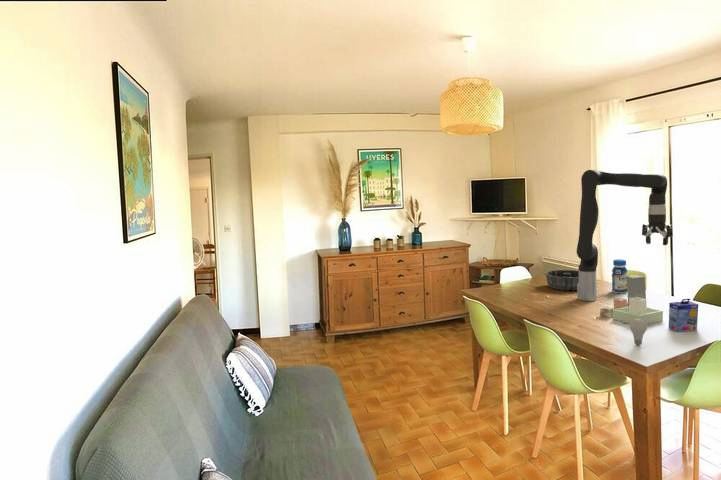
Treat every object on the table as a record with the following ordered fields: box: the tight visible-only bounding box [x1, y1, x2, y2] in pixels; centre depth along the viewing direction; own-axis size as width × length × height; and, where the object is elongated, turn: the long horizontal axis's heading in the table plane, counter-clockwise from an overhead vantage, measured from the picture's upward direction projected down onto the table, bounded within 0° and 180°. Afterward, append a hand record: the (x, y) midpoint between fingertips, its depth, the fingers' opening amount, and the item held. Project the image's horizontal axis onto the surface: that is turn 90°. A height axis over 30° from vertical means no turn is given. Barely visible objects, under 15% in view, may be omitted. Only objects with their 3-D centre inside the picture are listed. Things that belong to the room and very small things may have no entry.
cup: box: [628, 297, 647, 315], centre depth 208 cm, size 5×5×10 cm
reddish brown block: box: [613, 297, 628, 310], centre depth 222 cm, size 6×6×7 cm
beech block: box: [599, 305, 614, 319], centre depth 218 cm, size 4×4×4 cm
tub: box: [612, 306, 664, 326], centre depth 209 cm, size 13×16×5 cm
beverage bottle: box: [611, 258, 629, 294], centre depth 264 cm, size 8×8×20 cm
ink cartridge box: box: [668, 298, 699, 333], centre depth 191 cm, size 10×6×14 cm, turn 95°
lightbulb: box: [628, 319, 648, 346], centre depth 176 cm, size 6×6×11 cm
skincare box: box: [626, 274, 647, 304], centre depth 236 cm, size 8×7×16 cm
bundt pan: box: [544, 269, 579, 291], centre depth 284 cm, size 26×26×10 cm
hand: (656, 244), depth 223 cm, fingers open, 8 cm apart
